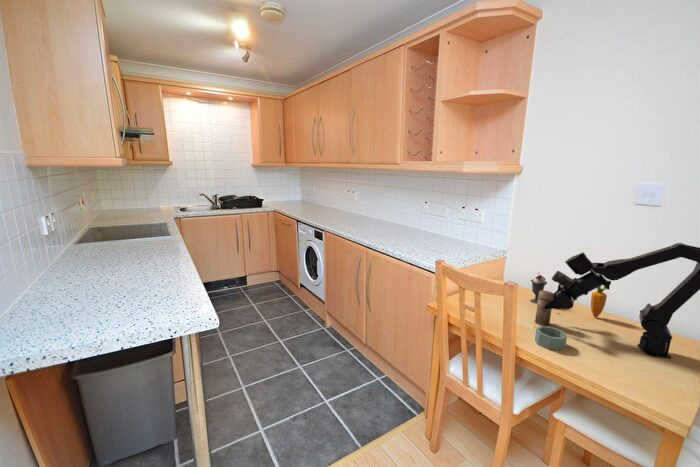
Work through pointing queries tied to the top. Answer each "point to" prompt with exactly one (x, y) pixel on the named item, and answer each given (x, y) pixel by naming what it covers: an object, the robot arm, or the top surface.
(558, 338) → the pot
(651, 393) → the top surface
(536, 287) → the sundae
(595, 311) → the carrot
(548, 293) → the pepper mill
